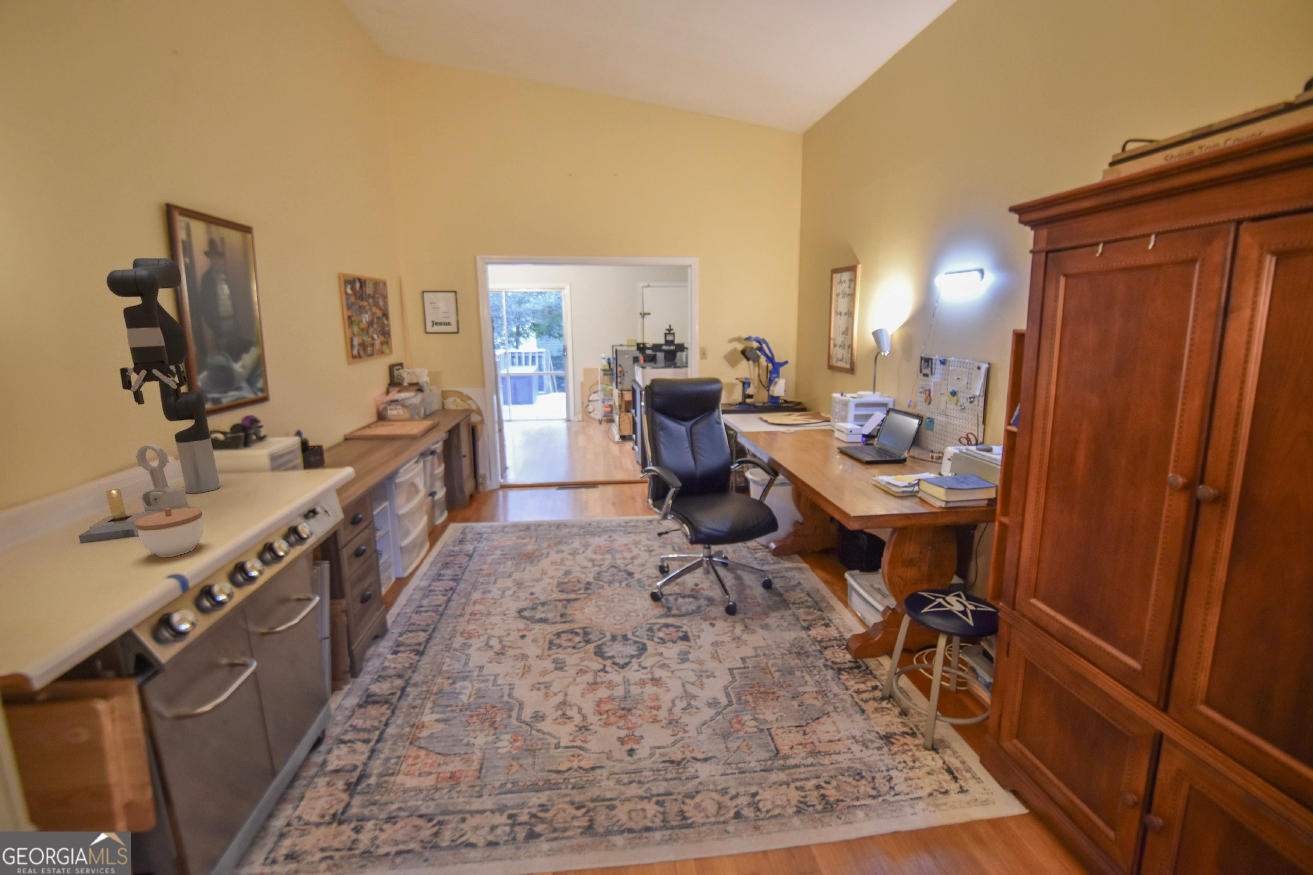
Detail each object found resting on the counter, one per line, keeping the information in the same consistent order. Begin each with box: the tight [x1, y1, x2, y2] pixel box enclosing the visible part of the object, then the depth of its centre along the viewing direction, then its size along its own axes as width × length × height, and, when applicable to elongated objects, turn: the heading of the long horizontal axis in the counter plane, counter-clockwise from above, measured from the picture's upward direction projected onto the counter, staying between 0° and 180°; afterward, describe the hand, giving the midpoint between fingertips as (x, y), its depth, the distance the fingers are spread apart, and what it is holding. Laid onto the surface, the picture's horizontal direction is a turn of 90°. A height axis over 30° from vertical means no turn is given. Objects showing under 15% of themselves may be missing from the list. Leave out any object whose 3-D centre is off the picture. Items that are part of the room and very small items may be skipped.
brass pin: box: [105, 488, 127, 522], centre depth 158 cm, size 3×3×12 cm
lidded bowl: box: [135, 507, 204, 558], centre depth 143 cm, size 13×13×11 cm
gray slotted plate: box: [78, 507, 185, 544], centre depth 160 cm, size 9×20×4 cm, turn 109°
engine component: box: [135, 443, 189, 512], centre depth 176 cm, size 11×20×10 cm
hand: (159, 402), depth 166 cm, fingers open, 8 cm apart
